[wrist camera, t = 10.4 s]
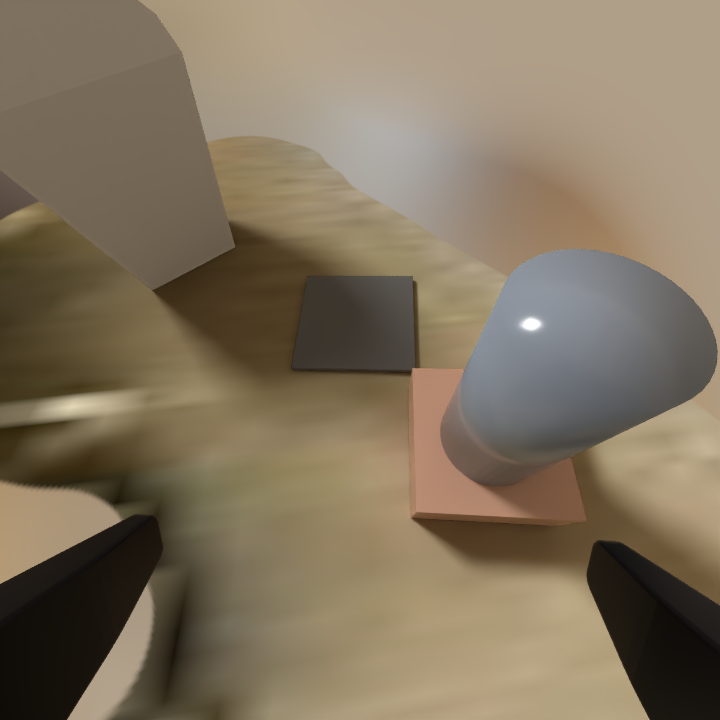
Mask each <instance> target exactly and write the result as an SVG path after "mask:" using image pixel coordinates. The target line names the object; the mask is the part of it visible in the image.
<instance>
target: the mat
mask: <svg viewBox="0 0 720 720" xmlns="http://www.w3.org/2000/svg"><path fill="white" fill-rule="evenodd" d="M291 368H292V370H311V371H354V372H397V373H412V368H415V341H414V309H413V277H412V276H307V282H306V287H305V293H304V299H303V304H302V310H301V315H300V321H299V327H298V332H297V338H296V343H295V349H294V355H293V360H292V366H291Z"/></svg>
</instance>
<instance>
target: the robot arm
mask: <svg viewBox="0 0 720 720" xmlns="http://www.w3.org/2000/svg"><path fill="white" fill-rule="evenodd" d="M162 552H163V541H162V536H161V531H160V525H159V521H158V518H157V517H156V516H155V515H151V514H135V515H133V516H131V517H129V518H127V519H125V520H123V521H121V522H119V523H117V524H116V525H113V526H112V527H109V528H108V529H106V530H104V531H102V532H100V533H98V534H96V535H94V536H92V537H90V538H88V539H86V540H84V541H82V542H81V543H79V544H77V545H75V546H73V547H71V548H69V549H67V550H65V551H63V552H61V553H59V554H57V555H55V556H54V557H51V558H50V559H48V560H46V561H44V562H42V563H40V564H38V565H36V566H34V567H32V568H30V569H28V570H26V571H25V572H23V573H21V574H19V575H17V576H15V577H13V578H11V579H9V580H7V581H5V582H3V583H1V584H0V720H67V719H68V717H69V716H70V714H71V712H72V711H73V709H74V708H75V706H76V704H77V703H78V701H79V700H80V698H81V697H82V695H83V693H84V692H85V690H86V689H87V687H88V685H89V684H90V682H91V681H92V679H93V678H94V676H95V674H96V673H97V671H98V670H99V668H100V666H101V665H102V663H103V662H104V660H105V659H106V657H107V655H108V654H109V652H110V650H111V649H112V647H113V645H114V644H115V642H116V640H117V639H118V637H119V635H120V633H121V632H122V630H123V628H124V626H125V624H126V622H127V621H128V618H129V617H130V615H131V613H132V611H133V609H134V607H135V605H136V603H137V601H138V600H139V598H140V596H141V594H142V592H143V590H144V588H145V587H146V585H147V583H148V581H149V579H150V577H151V575H152V573H153V571H154V570H155V568H156V566H157V564H158V562H159V560H160V558H161V555H162ZM587 582H588V585H589V588H590V591H591V593H592V595H593V597H594V600H595V602H596V604H597V607H598V609H599V611H600V614H601V616H602V618H603V621H604V623H605V625H606V627H607V630H608V632H609V634H610V637H611V639H612V641H613V644H614V646H615V648H616V651H617V653H618V655H619V658H620V660H621V662H622V664H623V667H624V669H625V671H626V673H627V675H628V678H629V680H630V682H631V684H632V686H633V688H634V690H635V692H636V694H637V696H638V698H639V700H640V702H641V704H642V706H643V708H644V710H645V711H646V713H647V715H648V717H649V719H650V720H720V605H718V604H717V603H715V602H714V601H712V600H710V599H709V598H707V597H706V596H704V595H703V594H701V593H699V592H698V591H696V590H695V589H693V588H692V587H690V586H688V585H687V584H685V583H684V582H682V581H681V580H679V579H678V578H676V577H674V576H673V575H671V574H670V573H668V572H667V571H665V570H663V569H662V568H660V567H659V566H657V565H656V564H654V563H652V562H651V561H649V560H648V559H646V558H645V557H643V556H641V555H640V554H638V553H637V552H635V551H634V550H632V549H631V548H629V547H627V546H626V545H624V544H623V543H620V542H617V541H604V540H599V541H596V542H595V543H594V544H593V547H592V552H591V556H590V560H589V565H588V569H587Z"/></svg>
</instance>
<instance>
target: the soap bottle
mask: <svg viewBox="0 0 720 720" xmlns="http://www.w3.org/2000/svg"><path fill="white" fill-rule="evenodd" d="M0 170H1V171H2V172H4V173H5V174H6V175H8V176H9V177H10V178H11V179H12V180H14V181H15V182H16V183H18V184H19V185H20V186H21V187H23V188H24V189H25V190H26V191H28V192H29V193H30V194H31V195H33V196H34V197H35V198H36V199H38V200H39V201H40V202H41V203H43V204H44V205H45V206H46V207H48V208H49V209H50V210H51V211H53V212H54V213H55V214H56V215H58V216H59V217H60V218H62V219H63V220H64V221H65V222H67V223H68V224H69V225H70V226H72V227H73V228H74V229H75V230H77V231H78V232H79V233H80V234H82V235H83V236H84V237H85V238H87V239H88V240H89V241H90V242H92V243H93V244H94V245H96V246H97V247H98V248H99V249H101V250H102V251H103V252H104V253H106V254H107V255H108V256H109V257H111V258H112V259H113V260H114V261H116V262H117V263H118V264H119V265H121V266H122V267H123V268H124V269H126V270H127V271H128V272H129V273H131V274H132V275H133V276H135V277H136V278H137V279H138V280H140V281H141V282H142V283H143V284H145V285H146V286H147V287H148V288H150V289H151V290H154V289H156V288H158V287H160V286H162V285H164V284H166V283H168V282H170V281H172V280H173V279H175V278H177V277H179V276H181V275H183V274H185V273H187V272H189V271H191V270H193V269H195V268H196V267H198V266H200V265H202V264H204V263H206V262H208V261H210V260H212V259H214V258H216V257H217V256H219V255H221V254H223V253H225V252H227V251H229V250H231V249H233V248H235V244H234V241H233V237H232V233H231V230H230V226H229V222H228V219H227V215H226V211H225V208H224V204H223V200H222V197H221V193H220V190H219V186H218V182H217V179H216V175H215V171H214V168H213V164H212V160H211V157H210V153H209V149H208V146H207V142H206V139H205V135H204V131H203V128H202V124H201V120H200V116H199V113H198V110H197V106H196V102H195V98H194V95H193V91H192V87H191V84H190V80H189V76H188V73H187V69H186V66H185V62H184V58H183V54H182V52H181V50H180V49H179V47H178V46H177V44H176V43H175V41H174V40H173V39H172V37H171V36H170V34H169V33H168V31H167V30H166V28H165V27H164V25H163V24H162V23H161V21H160V20H159V18H158V17H157V15H156V14H155V13H154V12H152V11H151V10H150V9H148V8H147V7H146V6H145V5H143V4H142V3H141V2H139V1H138V0H0Z"/></svg>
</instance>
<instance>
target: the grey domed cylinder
mask: <svg viewBox="0 0 720 720" xmlns="http://www.w3.org/2000/svg"><path fill="white" fill-rule="evenodd" d="M717 352H718V351H717V344H716V339H715V336H714V333H713V330H712V328H711V326H710V324H709V322H708V320H707V318H706V316H705V315H704V313H703V312H702V310H701V309H700V308H699V306H698V305H697V304H696V303H695V302H694V300H693V299H692V298H691V297H690V296H689V295H688V294H687V293H685V292H684V291H683V290H682V289H681V288H680V287H678V286H677V285H676V284H675V283H674V282H672V281H671V280H669V279H668V278H667V277H665V276H663V275H662V274H660V273H659V272H657V271H655V270H653V269H651V268H650V267H648V266H645V265H643V264H641V263H639V262H636V261H634V260H631V259H628V258H626V257H622V256H619V255H616V254H612V253H607V252H602V251H596V250H586V249H566V250H558V251H552V252H548V253H544V254H541V255H538V256H536V257H533V258H531V259H529V260H528V261H526V262H524V263H523V264H521V265H520V266H519V267H517V268H516V269H515V270H514V272H513V273H511V275H510V276H509V277H508V279H507V280H506V282H505V284H504V286H503V288H502V291H501V293H500V295H499V297H498V299H497V301H496V303H495V306H494V308H493V310H492V312H491V314H490V316H489V318H488V320H487V323H486V325H485V327H484V329H483V331H482V333H481V335H480V338H479V340H478V342H477V344H476V346H475V348H474V350H473V353H472V355H471V357H470V359H469V361H468V363H467V365H466V368H465V370H464V372H463V374H462V376H461V378H460V380H459V383H458V385H457V387H456V389H455V391H454V393H453V395H452V397H451V400H450V402H449V404H448V406H447V408H446V410H445V412H444V415H443V417H442V420H441V425H440V437H441V442H442V446H443V449H444V451H445V453H446V455H447V457H448V459H449V460H450V461H451V463H452V464H453V465H454V466H455V467H456V468H457V469H458V470H459V471H460V472H461V473H462V474H463V475H465V476H466V477H468V478H469V479H471V480H473V481H475V482H478V483H480V484H483V485H487V486H494V487H504V486H510V485H513V484H516V483H518V482H520V481H522V480H524V479H526V478H529V477H531V476H533V475H535V474H537V473H539V472H541V471H543V470H545V469H547V468H549V467H551V466H553V465H556V464H558V463H560V462H562V461H564V460H566V459H568V458H570V457H572V456H574V455H576V454H578V453H580V452H583V451H585V450H587V449H589V448H591V447H593V446H595V445H597V444H599V443H601V442H603V441H605V440H607V439H609V438H612V437H614V436H616V435H618V434H620V433H622V432H624V431H626V430H628V429H630V428H632V427H634V426H636V425H639V424H641V423H643V422H645V421H647V420H649V419H651V418H653V417H655V416H657V415H659V414H661V413H663V412H666V411H668V410H670V409H672V408H674V407H676V406H678V405H680V404H682V403H684V402H686V401H688V400H690V399H692V398H693V397H694V396H696V395H697V394H698V393H700V392H701V391H702V390H703V389H704V388H705V386H706V385H707V384H708V383H709V382H710V380H711V378H712V376H713V374H714V372H715V368H716V364H717Z"/></svg>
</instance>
